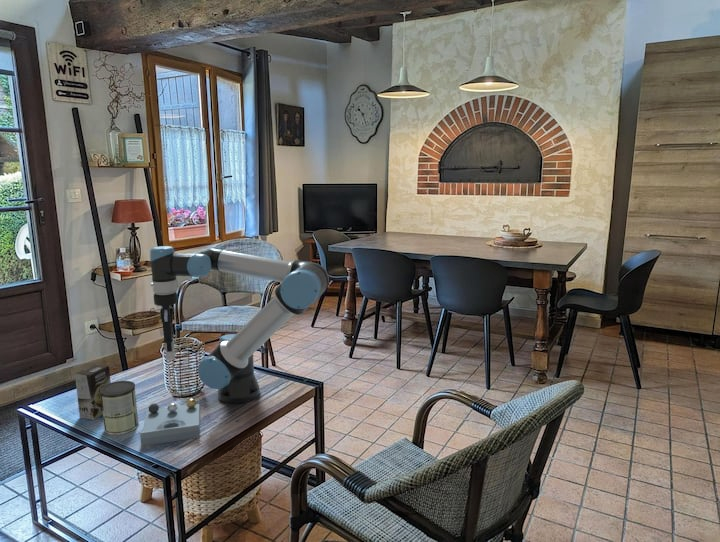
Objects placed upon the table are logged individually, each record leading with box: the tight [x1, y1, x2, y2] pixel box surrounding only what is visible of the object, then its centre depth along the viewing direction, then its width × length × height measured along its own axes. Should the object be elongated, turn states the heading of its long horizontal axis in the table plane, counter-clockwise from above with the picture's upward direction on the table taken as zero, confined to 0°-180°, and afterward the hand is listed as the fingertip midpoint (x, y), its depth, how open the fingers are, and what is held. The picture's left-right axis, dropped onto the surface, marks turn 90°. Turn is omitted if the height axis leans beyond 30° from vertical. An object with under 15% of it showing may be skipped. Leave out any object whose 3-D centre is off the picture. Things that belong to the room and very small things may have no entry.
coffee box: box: [74, 363, 112, 421], centre depth 174 cm, size 9×6×16 cm
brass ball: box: [186, 398, 197, 408], centre depth 174 cm, size 3×3×3 cm
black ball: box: [148, 403, 160, 413], centre depth 170 cm, size 3×3×3 cm
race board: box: [139, 403, 201, 447], centre depth 166 cm, size 17×19×4 cm
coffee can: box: [100, 380, 139, 436], centre depth 165 cm, size 10×10×14 cm
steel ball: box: [166, 402, 178, 413], centre depth 171 cm, size 3×3×3 cm
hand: (170, 358), depth 176 cm, fingers open, 2 cm apart
